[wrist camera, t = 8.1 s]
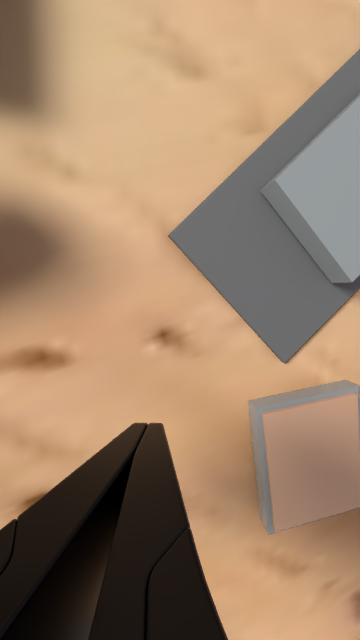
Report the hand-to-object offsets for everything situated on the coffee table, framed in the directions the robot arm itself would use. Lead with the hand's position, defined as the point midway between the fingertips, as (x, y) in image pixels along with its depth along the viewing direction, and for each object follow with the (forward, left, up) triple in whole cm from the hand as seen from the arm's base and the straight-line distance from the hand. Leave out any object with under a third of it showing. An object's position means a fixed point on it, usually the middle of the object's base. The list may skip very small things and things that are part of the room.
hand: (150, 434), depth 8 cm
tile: (+8, -10, -9) cm, 15 cm away
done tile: (-8, -12, -11) cm, 18 cm away
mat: (+10, -12, -10) cm, 19 cm away
